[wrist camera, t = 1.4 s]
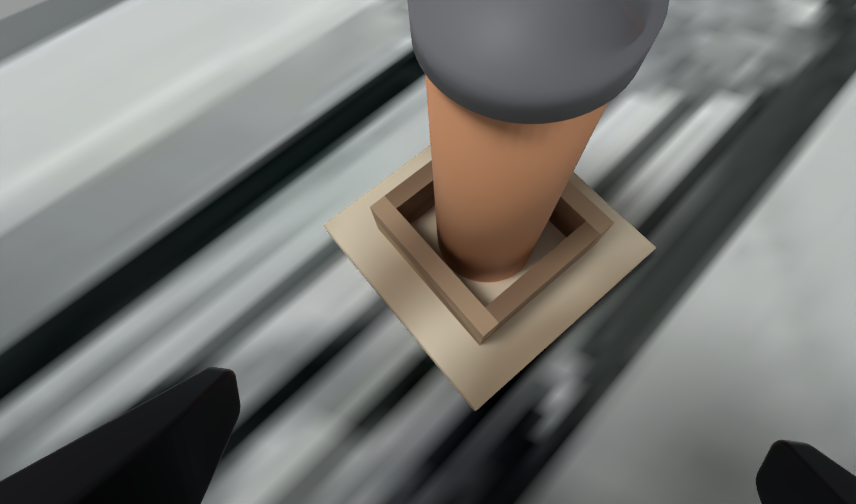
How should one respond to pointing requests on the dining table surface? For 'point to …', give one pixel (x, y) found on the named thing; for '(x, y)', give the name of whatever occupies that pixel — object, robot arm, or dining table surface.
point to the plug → (517, 111)
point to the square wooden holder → (481, 301)
